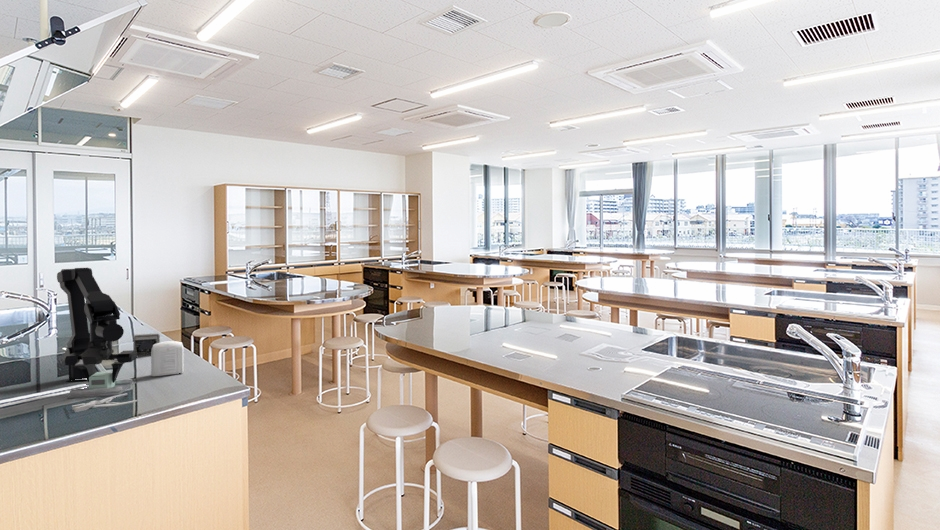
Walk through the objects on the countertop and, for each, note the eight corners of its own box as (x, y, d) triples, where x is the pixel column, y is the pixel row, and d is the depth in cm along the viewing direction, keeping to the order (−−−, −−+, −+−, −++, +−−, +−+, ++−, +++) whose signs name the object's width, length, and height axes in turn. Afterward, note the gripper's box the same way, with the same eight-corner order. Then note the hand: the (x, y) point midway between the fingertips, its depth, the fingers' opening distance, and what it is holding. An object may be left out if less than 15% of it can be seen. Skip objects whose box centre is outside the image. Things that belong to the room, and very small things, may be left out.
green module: (89, 392, 155) (88, 377, 155) (97, 386, 161) (97, 371, 161) (107, 391, 157) (106, 376, 156) (115, 385, 163) (114, 371, 162)
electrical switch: (161, 352, 207) (160, 331, 206) (159, 356, 203) (158, 335, 201) (134, 354, 203) (133, 333, 201) (132, 358, 198) (131, 337, 197)
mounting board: (67, 398, 151) (67, 392, 151) (86, 385, 163) (86, 379, 163) (119, 395, 155) (119, 389, 155) (134, 382, 167) (134, 377, 167)
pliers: (138, 397, 150) (78, 411, 138) (138, 402, 151) (78, 416, 139) (126, 390, 156) (68, 402, 144) (126, 395, 156) (68, 408, 144)
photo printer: (183, 370, 183) (183, 338, 182) (184, 373, 179) (183, 341, 178) (151, 374, 177) (150, 341, 176) (151, 377, 173) (150, 344, 172)
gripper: (53, 343, 147) (55, 393, 149) (124, 341, 153) (125, 388, 154) (71, 335, 158) (73, 381, 159) (137, 333, 164) (138, 378, 165)
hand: (102, 382), depth 159 cm, fingers open, 6 cm apart
